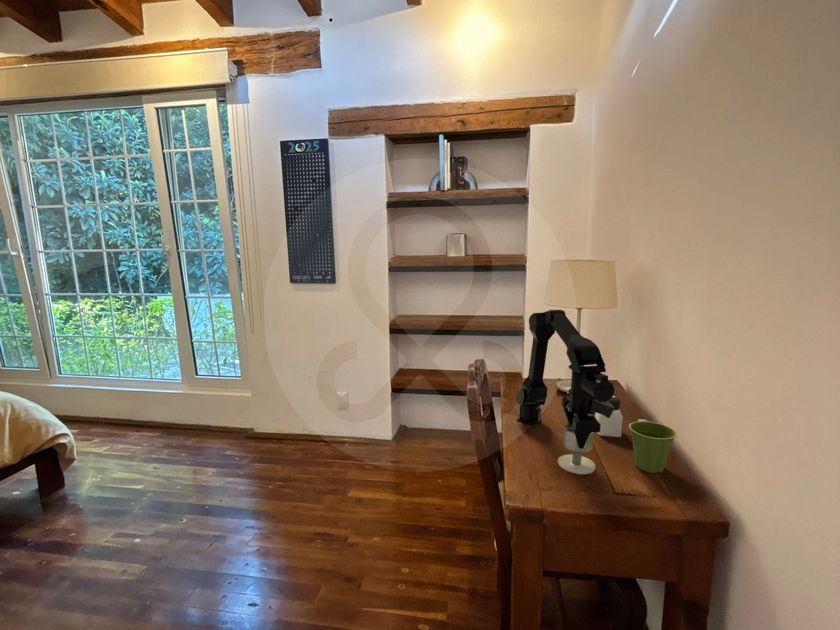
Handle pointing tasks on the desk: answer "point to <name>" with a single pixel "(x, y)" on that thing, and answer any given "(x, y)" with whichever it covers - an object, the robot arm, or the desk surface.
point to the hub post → (576, 463)
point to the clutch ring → (571, 440)
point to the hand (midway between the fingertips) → (577, 442)
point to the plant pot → (651, 444)
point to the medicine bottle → (611, 420)
